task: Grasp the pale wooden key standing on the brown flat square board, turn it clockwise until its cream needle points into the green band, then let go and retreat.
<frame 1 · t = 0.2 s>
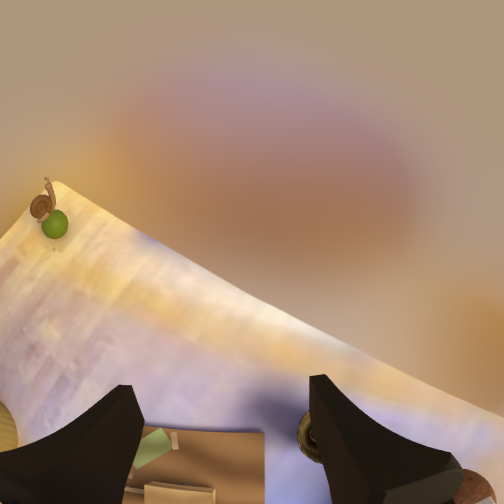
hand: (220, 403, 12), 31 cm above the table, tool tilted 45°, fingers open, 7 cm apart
snail figurine: (62, 231, 55), on the table
cup: (317, 433, 37), on the table
brown flat square board: (178, 501, 31), on the table
peg key: (155, 496, 29), point 3 cm above the table, hinge at 0.0°
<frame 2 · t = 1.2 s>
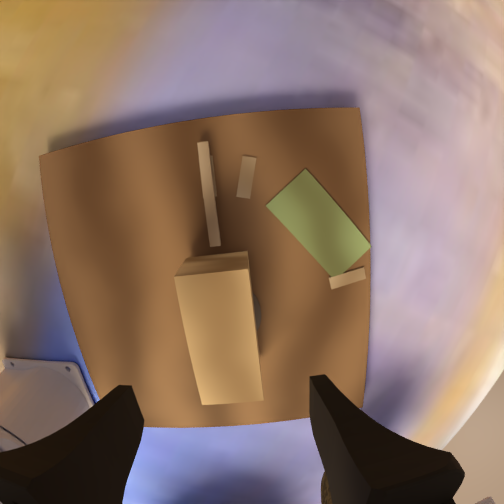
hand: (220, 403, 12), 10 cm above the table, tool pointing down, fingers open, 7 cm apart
brown flat square board: (210, 293, 21), on the table
peg key: (216, 274, 18), point 3 cm above the table, hinge at 0.0°
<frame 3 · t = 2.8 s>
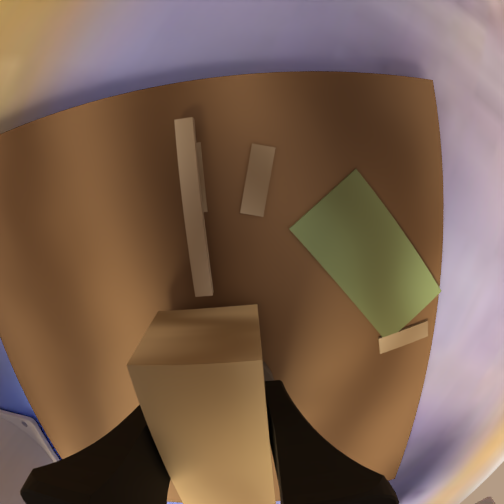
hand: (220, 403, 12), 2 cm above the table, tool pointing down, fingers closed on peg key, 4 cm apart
brown flat square board: (198, 354, 14), on the table
peg key: (204, 348, 10), point 3 cm above the table, hinge at 0.0°, touching gripper
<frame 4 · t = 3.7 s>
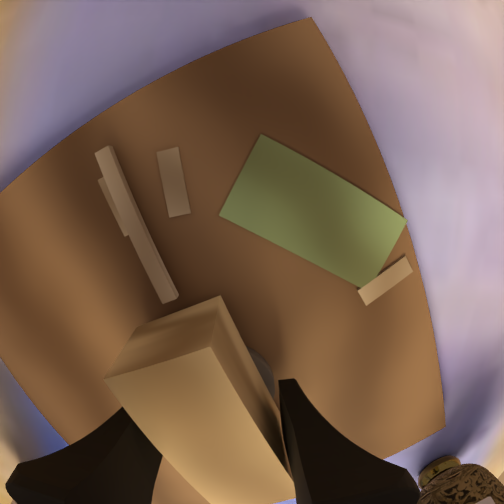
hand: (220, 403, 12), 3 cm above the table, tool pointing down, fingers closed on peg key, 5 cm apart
cup: (435, 465, 18), on the table
brown flat square board: (194, 359, 14), on the table
peg key: (178, 349, 10), point 3 cm above the table, hinge at -2.7°, touching gripper
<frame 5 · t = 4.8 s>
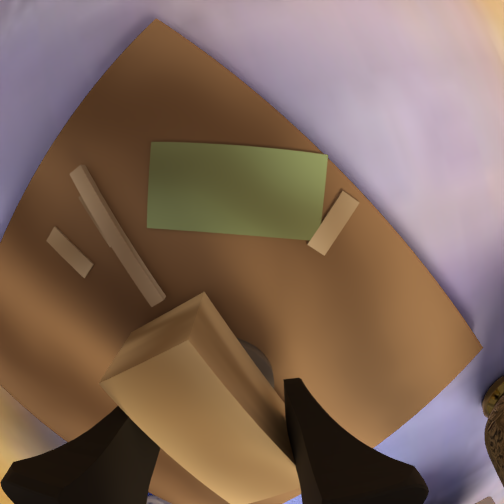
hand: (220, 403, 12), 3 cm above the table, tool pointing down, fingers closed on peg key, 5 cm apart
cup: (496, 389, 16), on the table
brown flat square board: (194, 364, 15), on the table
peg key: (168, 347, 11), point 3 cm above the table, hinge at -17.2°, touching gripper
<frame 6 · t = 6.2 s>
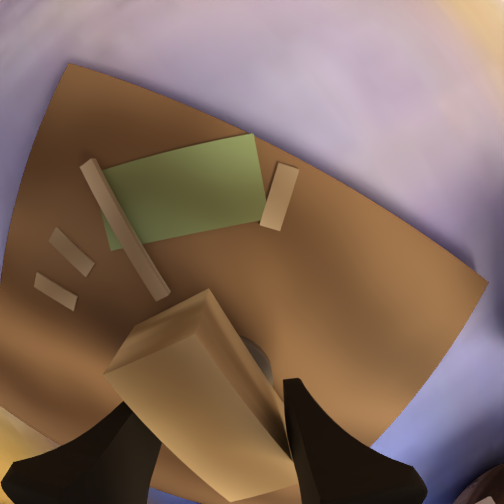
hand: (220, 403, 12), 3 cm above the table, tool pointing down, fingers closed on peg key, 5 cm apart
wooden sphere: (478, 479, 20), on the table
brown flat square board: (196, 367, 15), on the table
peg key: (172, 342, 11), point 3 cm above the table, hinge at -35.1°, touching gripper
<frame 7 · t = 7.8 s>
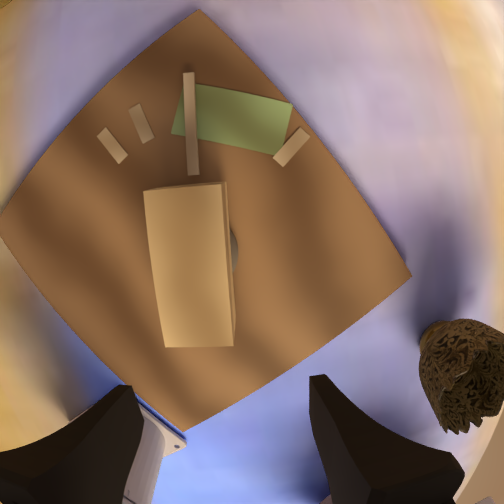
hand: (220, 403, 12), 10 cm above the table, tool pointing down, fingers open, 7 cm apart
cup: (433, 336, 23), on the table
brown flat square board: (181, 244, 20), on the table
peg key: (190, 199, 16), point 3 cm above the table, hinge at -36.2°
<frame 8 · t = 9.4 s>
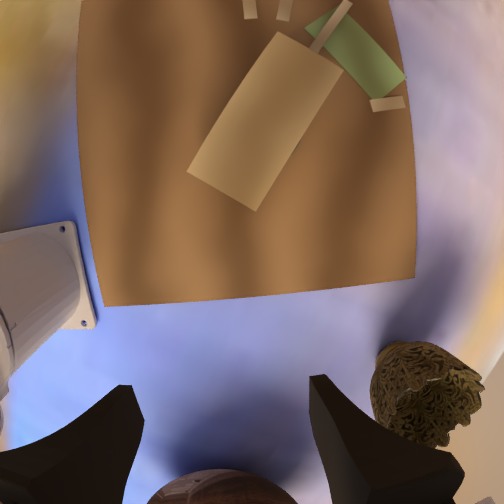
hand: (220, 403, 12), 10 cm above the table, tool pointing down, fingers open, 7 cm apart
cup: (392, 355, 23), on the table
wooden sphere: (226, 481, 26), on the table
brown flat square board: (243, 116, 18), on the table
peg key: (296, 73, 15), point 3 cm above the table, hinge at -36.2°
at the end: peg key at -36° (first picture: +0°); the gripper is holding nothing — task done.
